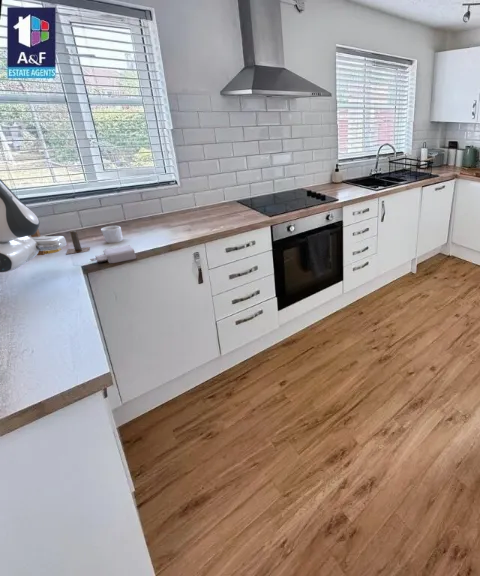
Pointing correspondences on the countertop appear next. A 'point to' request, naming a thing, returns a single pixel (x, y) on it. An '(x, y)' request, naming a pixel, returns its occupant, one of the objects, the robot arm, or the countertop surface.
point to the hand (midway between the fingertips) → (37, 238)
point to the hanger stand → (76, 244)
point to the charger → (116, 254)
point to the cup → (112, 234)
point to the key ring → (44, 251)
